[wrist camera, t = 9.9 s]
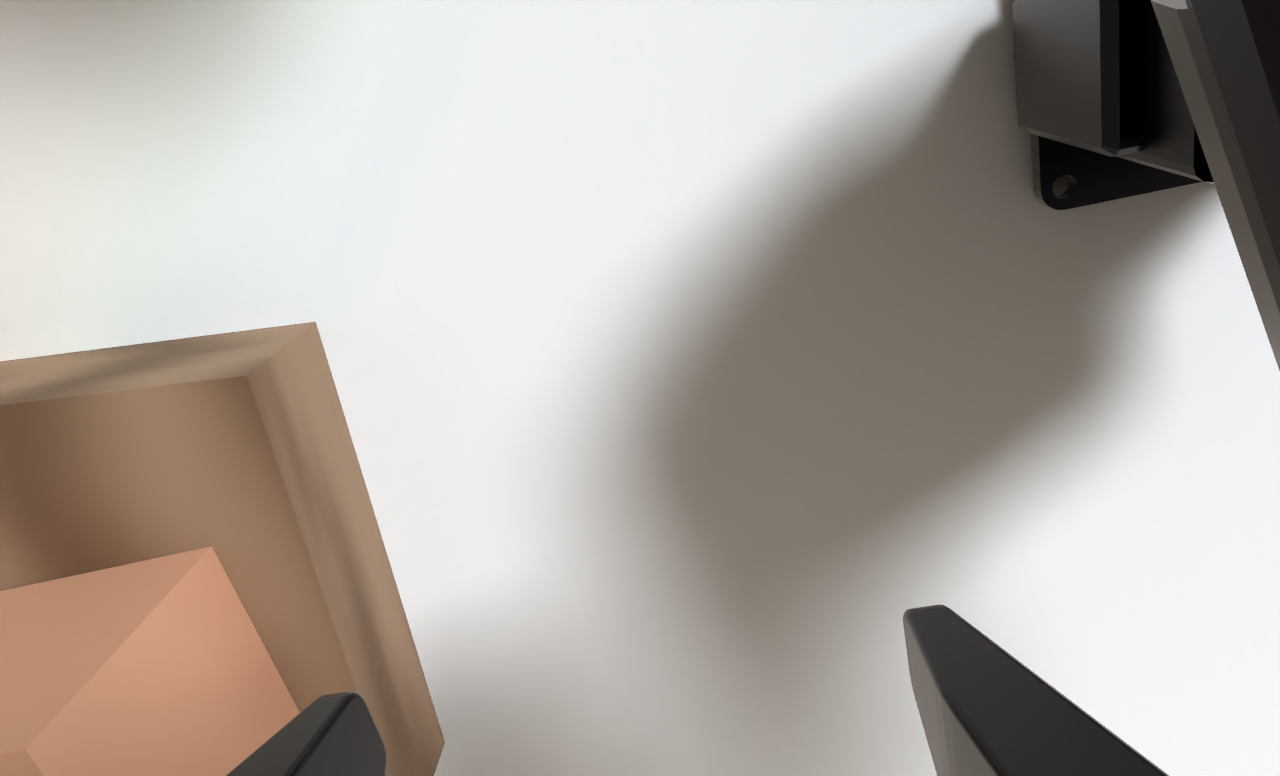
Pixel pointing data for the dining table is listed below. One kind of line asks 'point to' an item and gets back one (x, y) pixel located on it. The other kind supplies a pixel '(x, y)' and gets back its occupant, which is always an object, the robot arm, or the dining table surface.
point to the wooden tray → (219, 503)
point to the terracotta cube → (135, 673)
